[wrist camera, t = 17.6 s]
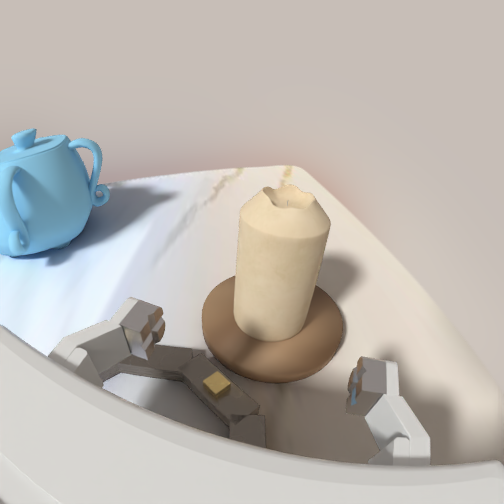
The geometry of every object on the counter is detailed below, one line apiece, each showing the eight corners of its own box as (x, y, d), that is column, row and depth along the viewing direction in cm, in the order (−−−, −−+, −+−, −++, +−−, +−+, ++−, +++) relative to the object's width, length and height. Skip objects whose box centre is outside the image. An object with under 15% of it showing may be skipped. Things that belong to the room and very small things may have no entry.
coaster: (362, 326, 24) (366, 316, 23) (277, 411, 17) (280, 403, 17) (267, 266, 30) (269, 256, 29) (174, 318, 23) (173, 307, 23)
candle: (223, 332, 21) (228, 201, 15) (244, 285, 26) (254, 171, 20) (299, 350, 20) (335, 222, 15) (308, 300, 25) (335, 186, 19)
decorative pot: (13, 294, 23) (-28, 164, 15) (-20, 243, 29) (-44, 151, 21) (123, 225, 35) (114, 115, 27) (64, 197, 41) (54, 114, 33)
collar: (315, 459, 14) (324, 450, 13) (117, 597, 5) (107, 602, 4) (164, 323, 23) (161, 307, 22) (5, 406, 13) (-8, 392, 12)
